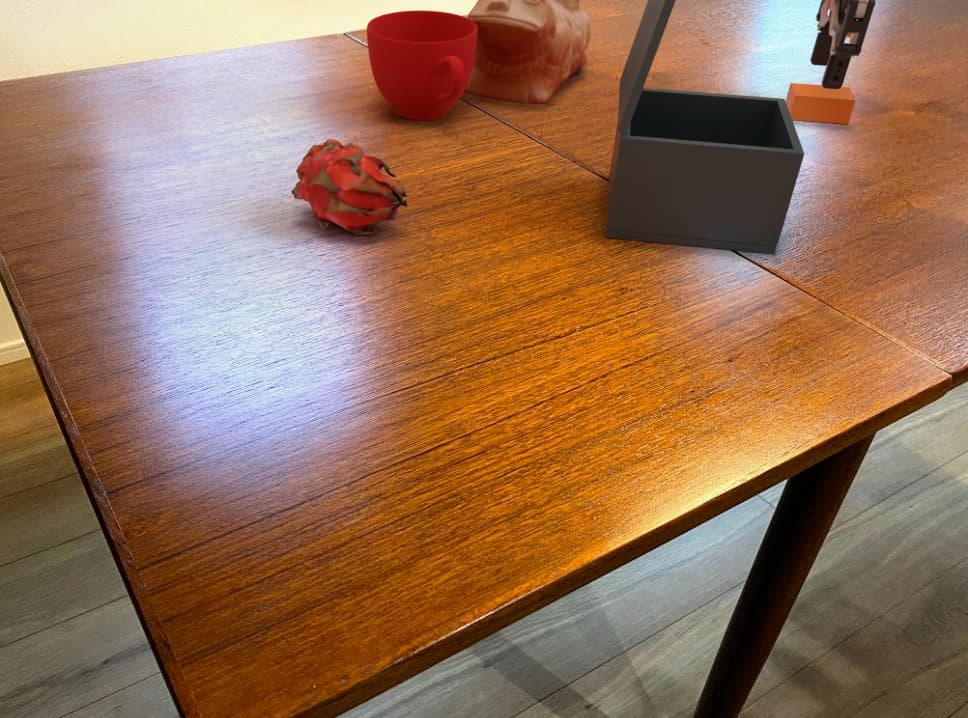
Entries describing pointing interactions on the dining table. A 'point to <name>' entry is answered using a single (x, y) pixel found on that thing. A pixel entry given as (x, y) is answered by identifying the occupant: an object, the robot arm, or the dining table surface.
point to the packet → (820, 103)
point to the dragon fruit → (347, 187)
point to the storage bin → (704, 171)
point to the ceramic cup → (421, 60)
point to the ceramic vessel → (527, 47)
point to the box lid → (641, 58)
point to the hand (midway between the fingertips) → (824, 75)
